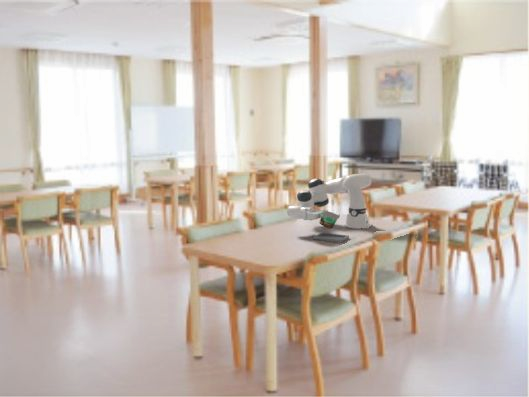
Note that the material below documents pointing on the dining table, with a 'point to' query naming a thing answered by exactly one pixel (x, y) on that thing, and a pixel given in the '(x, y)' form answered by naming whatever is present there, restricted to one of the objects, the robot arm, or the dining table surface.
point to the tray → (331, 237)
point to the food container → (328, 219)
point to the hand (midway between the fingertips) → (328, 215)
